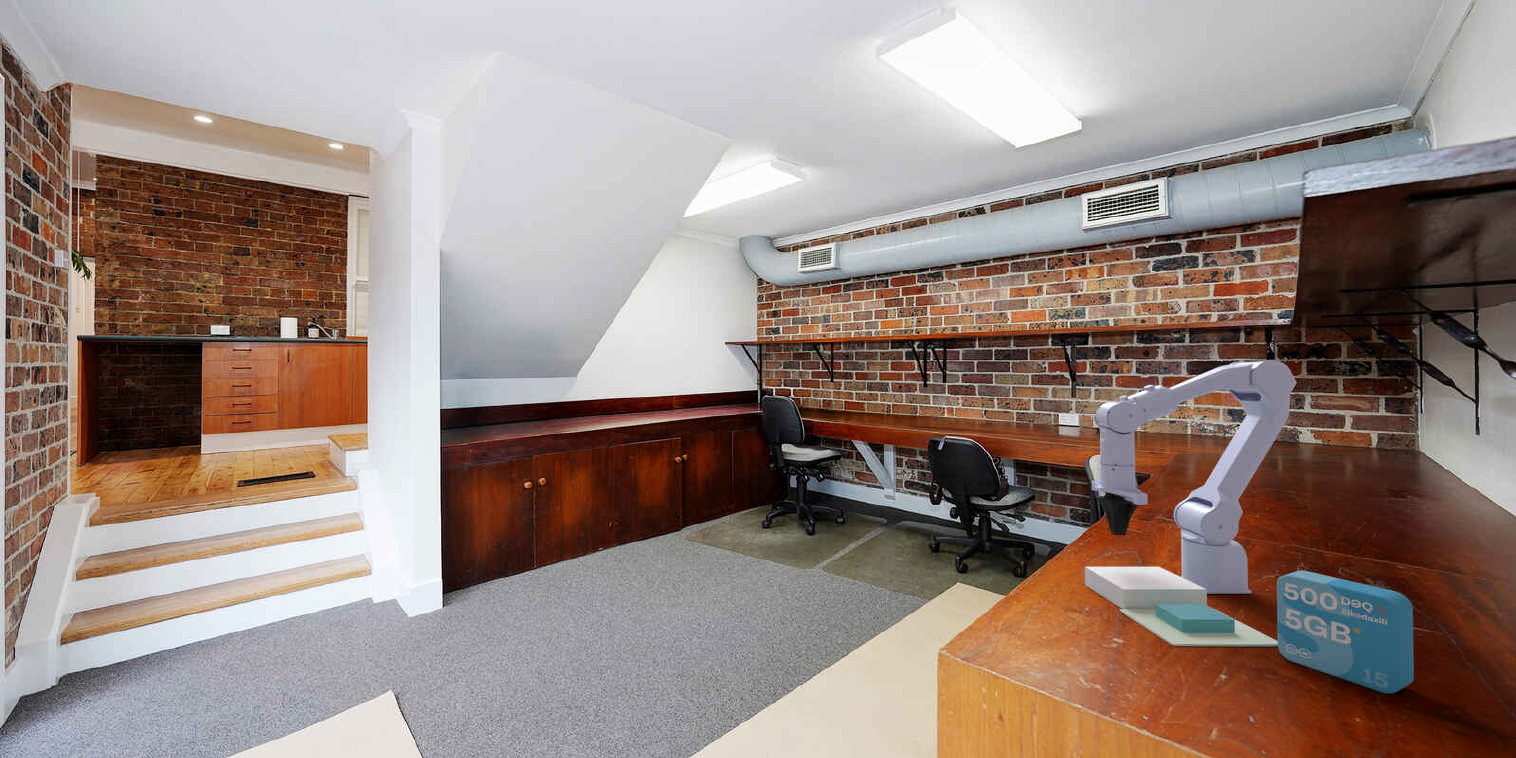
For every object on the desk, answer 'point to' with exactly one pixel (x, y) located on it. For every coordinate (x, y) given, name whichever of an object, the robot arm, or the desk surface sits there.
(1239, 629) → the mat
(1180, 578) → the white flat block
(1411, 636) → the data package
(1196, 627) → the tile
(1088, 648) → the desk surface
